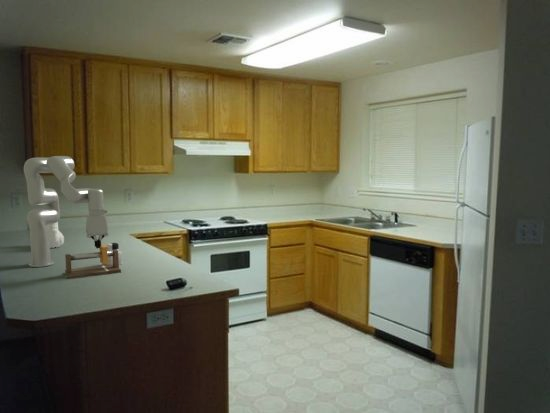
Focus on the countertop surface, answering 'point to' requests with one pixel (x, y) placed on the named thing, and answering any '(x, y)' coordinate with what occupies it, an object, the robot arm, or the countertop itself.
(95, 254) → the pipe stand
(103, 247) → the collar
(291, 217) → the countertop surface
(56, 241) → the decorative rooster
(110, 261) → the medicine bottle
